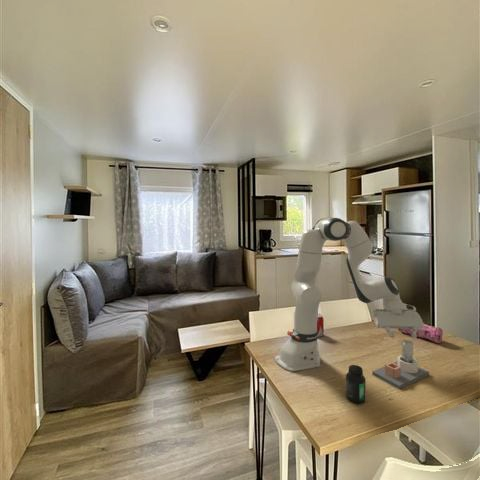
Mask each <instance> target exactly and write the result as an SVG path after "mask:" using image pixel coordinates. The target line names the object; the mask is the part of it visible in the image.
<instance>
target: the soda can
mask: <svg viewBox="0 0 480 480" xmlns="http://www.w3.org/2000/svg"><path fill="white" fill-rule="evenodd" d="M324 321H325V319H324V317H323V315H322V314H321V313H317V331H318V338H319V337H323V336H324V332H325V330H324V327H325V325H324V323H325V322H324Z"/></svg>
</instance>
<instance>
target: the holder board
mask: <svg viewBox="0 0 480 480" xmlns="http://www.w3.org/2000/svg"><path fill="white" fill-rule="evenodd" d="M371 372H372V373H371V375H372V376H374V377H376V378H378V379H379V380H381V381H383V382H385V383H387V384H388V385H390V386H393V387H394V388H396V389H398V390H401V389H403V388H405V387H407V386H410V385H411V384H413V383H416V382H418V381H420V380H422V379H424V378H427V376H429V375H430V371H428V370H426V369H424V368H422V367H419V361H418V360H417V358H415V357H413V363H406V362H404V361H402V355H398V356H397V361H395V362H391V361H390V362H388V363H386V364H384V366H382V367H379V368H377V369H374V370H372V371H371Z"/></svg>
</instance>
